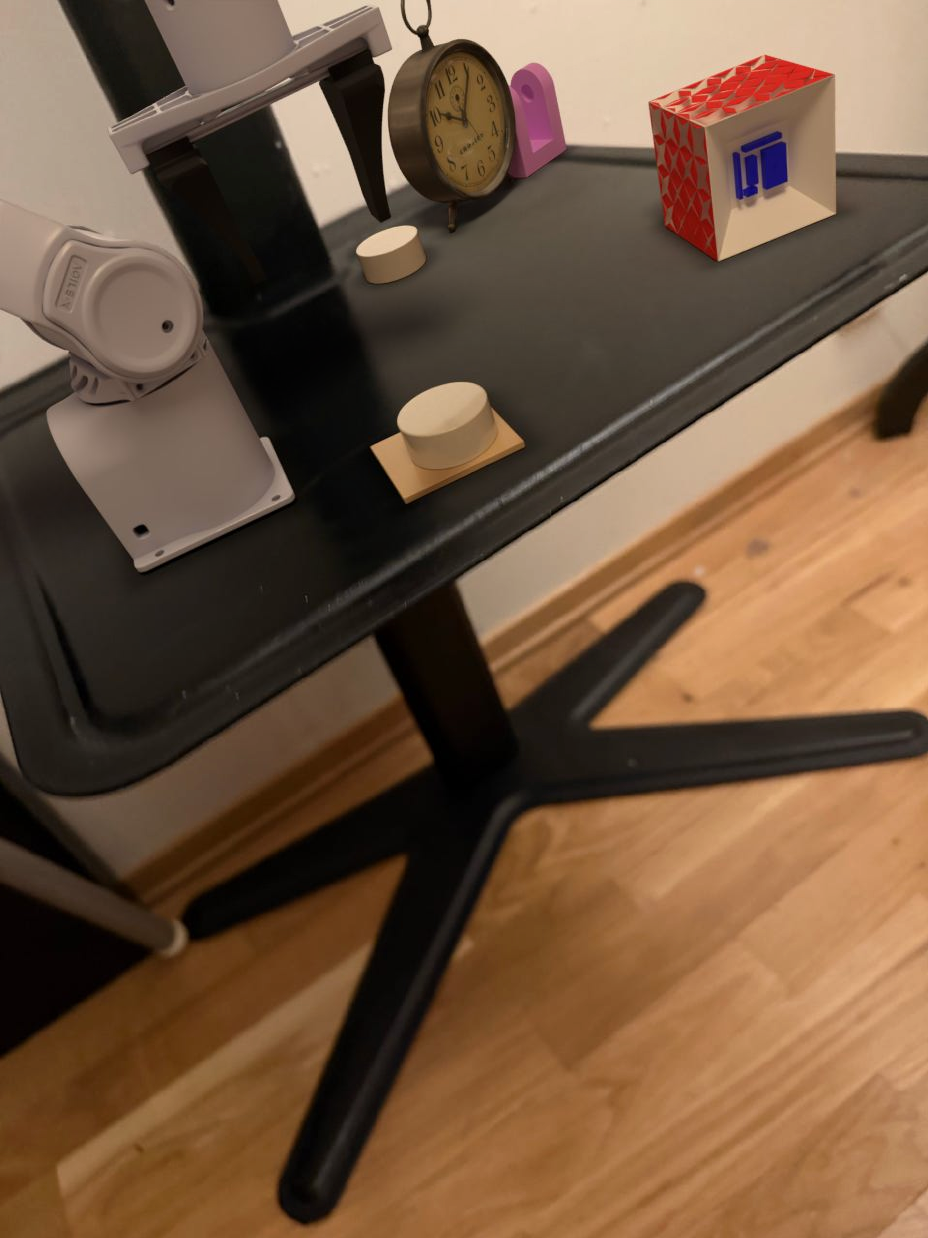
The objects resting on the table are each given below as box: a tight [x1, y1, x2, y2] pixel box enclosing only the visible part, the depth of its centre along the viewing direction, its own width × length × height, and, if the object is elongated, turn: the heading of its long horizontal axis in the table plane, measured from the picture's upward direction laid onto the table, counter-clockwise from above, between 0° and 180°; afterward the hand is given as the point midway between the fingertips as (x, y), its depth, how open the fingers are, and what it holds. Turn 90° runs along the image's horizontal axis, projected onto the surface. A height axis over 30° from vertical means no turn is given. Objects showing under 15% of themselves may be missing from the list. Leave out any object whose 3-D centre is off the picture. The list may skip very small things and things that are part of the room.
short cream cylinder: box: [396, 381, 497, 470], centre depth 48 cm, size 5×5×2 cm
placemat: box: [369, 407, 526, 505], centre depth 49 cm, size 7×6×1 cm
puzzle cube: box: [647, 54, 837, 262], centre depth 56 cm, size 8×8×8 cm
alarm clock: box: [387, 0, 516, 232], centre depth 70 cm, size 11×5×16 cm, turn 142°
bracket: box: [508, 62, 567, 178], centre depth 79 cm, size 13×6×7 cm, turn 47°
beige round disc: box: [355, 225, 427, 285], centre depth 70 cm, size 5×5×2 cm
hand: (320, 246), depth 50 cm, fingers open, 7 cm apart
